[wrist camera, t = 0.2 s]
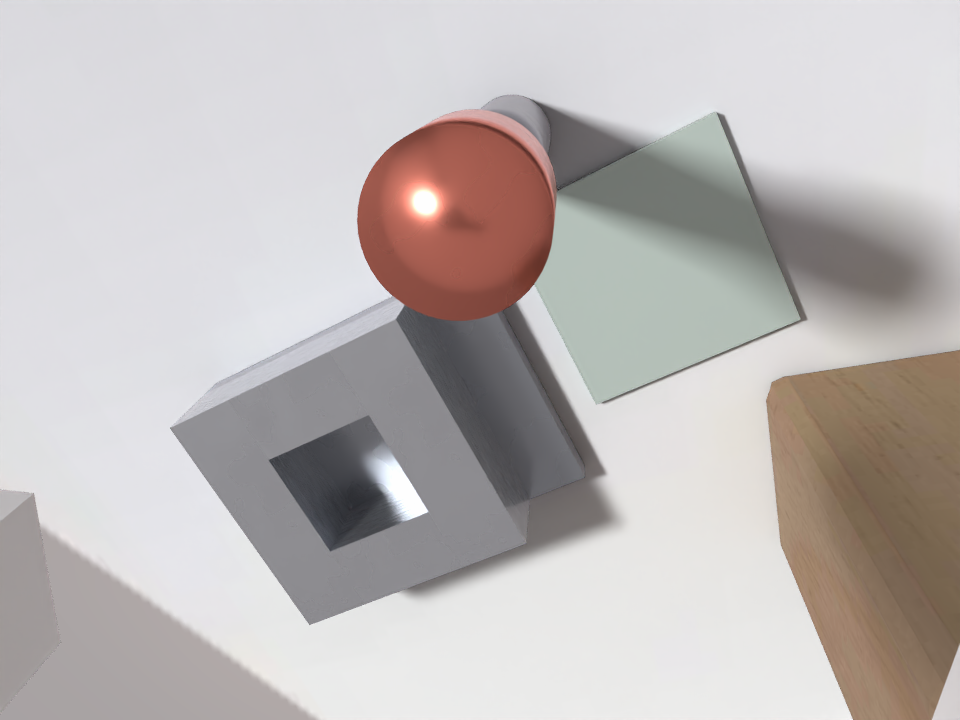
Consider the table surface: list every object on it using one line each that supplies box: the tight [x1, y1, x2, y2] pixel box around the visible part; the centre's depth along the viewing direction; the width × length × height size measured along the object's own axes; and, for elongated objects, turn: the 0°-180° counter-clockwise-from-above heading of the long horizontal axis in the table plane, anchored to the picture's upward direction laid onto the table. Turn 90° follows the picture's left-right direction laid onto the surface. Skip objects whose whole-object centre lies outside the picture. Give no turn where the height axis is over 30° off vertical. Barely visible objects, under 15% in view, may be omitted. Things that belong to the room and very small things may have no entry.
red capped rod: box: [357, 95, 557, 321], centre depth 26 cm, size 4×4×18 cm
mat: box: [534, 112, 801, 405], centre depth 35 cm, size 10×10×1 cm
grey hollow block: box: [170, 296, 585, 625], centre depth 38 cm, size 12×15×5 cm
